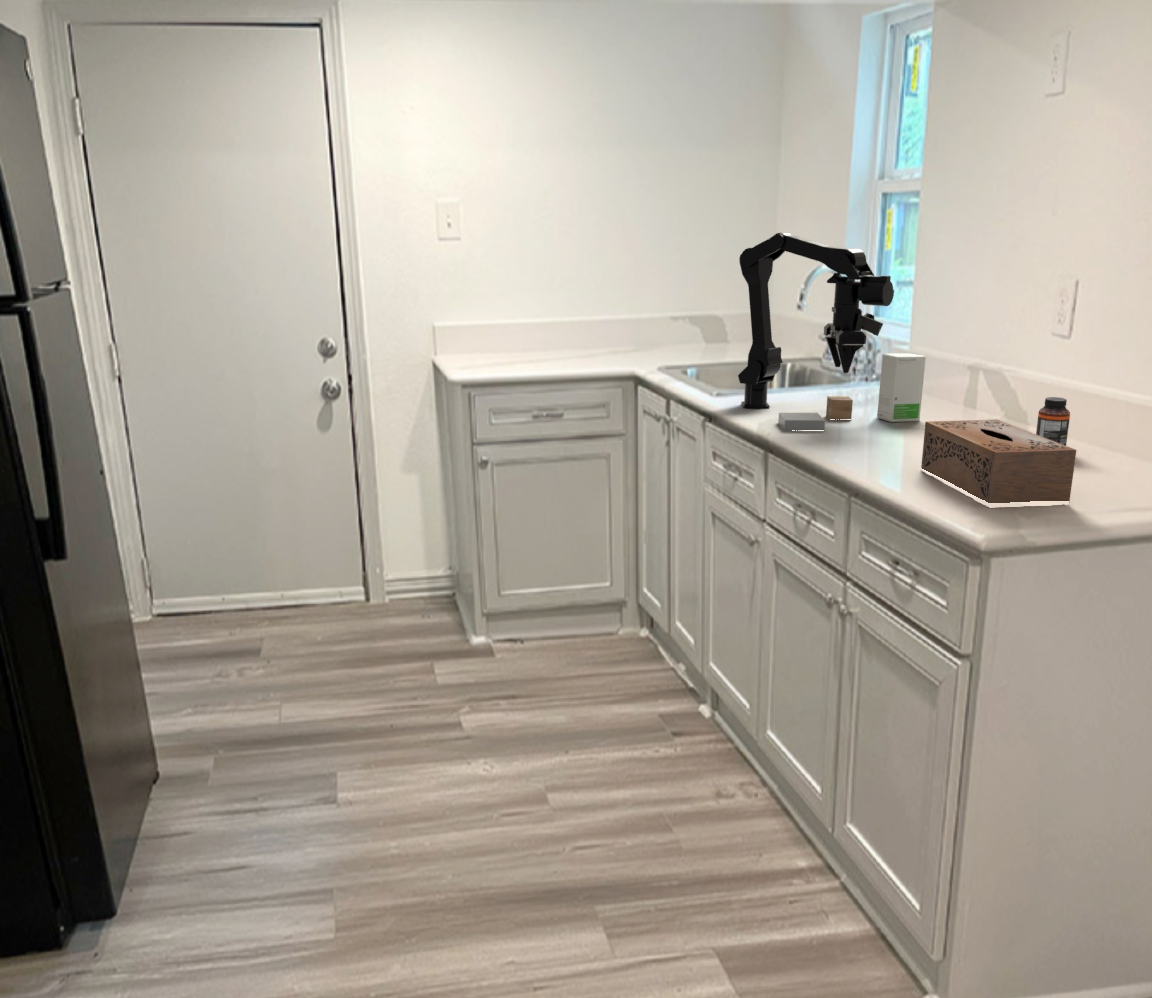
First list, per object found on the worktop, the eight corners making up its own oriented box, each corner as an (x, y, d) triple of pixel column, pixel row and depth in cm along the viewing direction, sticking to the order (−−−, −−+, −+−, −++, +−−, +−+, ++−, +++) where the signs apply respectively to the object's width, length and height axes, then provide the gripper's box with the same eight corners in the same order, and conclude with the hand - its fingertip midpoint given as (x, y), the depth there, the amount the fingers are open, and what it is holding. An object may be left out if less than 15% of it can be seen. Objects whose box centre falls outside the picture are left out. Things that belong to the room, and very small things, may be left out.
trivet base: (778, 425, 240) (778, 412, 239) (816, 425, 240) (817, 412, 239) (784, 433, 232) (785, 420, 231) (824, 433, 231) (825, 420, 230)
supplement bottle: (1038, 447, 215) (1045, 394, 212) (1068, 451, 211) (1075, 398, 208) (1030, 452, 211) (1036, 398, 208) (1060, 457, 207) (1067, 402, 204)
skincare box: (890, 422, 240) (895, 357, 236) (875, 417, 246) (880, 353, 242) (921, 421, 242) (927, 355, 238) (905, 415, 249) (911, 352, 244)
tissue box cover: (1068, 506, 173) (1076, 449, 171) (988, 510, 172) (995, 452, 169) (991, 469, 198) (997, 419, 195) (920, 472, 196) (925, 421, 194)
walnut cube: (825, 416, 248) (827, 396, 247) (846, 416, 248) (848, 396, 247) (830, 420, 244) (831, 400, 242) (851, 420, 243) (852, 400, 242)
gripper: (891, 307, 229) (885, 376, 233) (871, 300, 247) (866, 364, 251) (841, 307, 229) (836, 376, 234) (825, 300, 247) (821, 364, 252)
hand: (841, 369), depth 243 cm, fingers open, 9 cm apart
